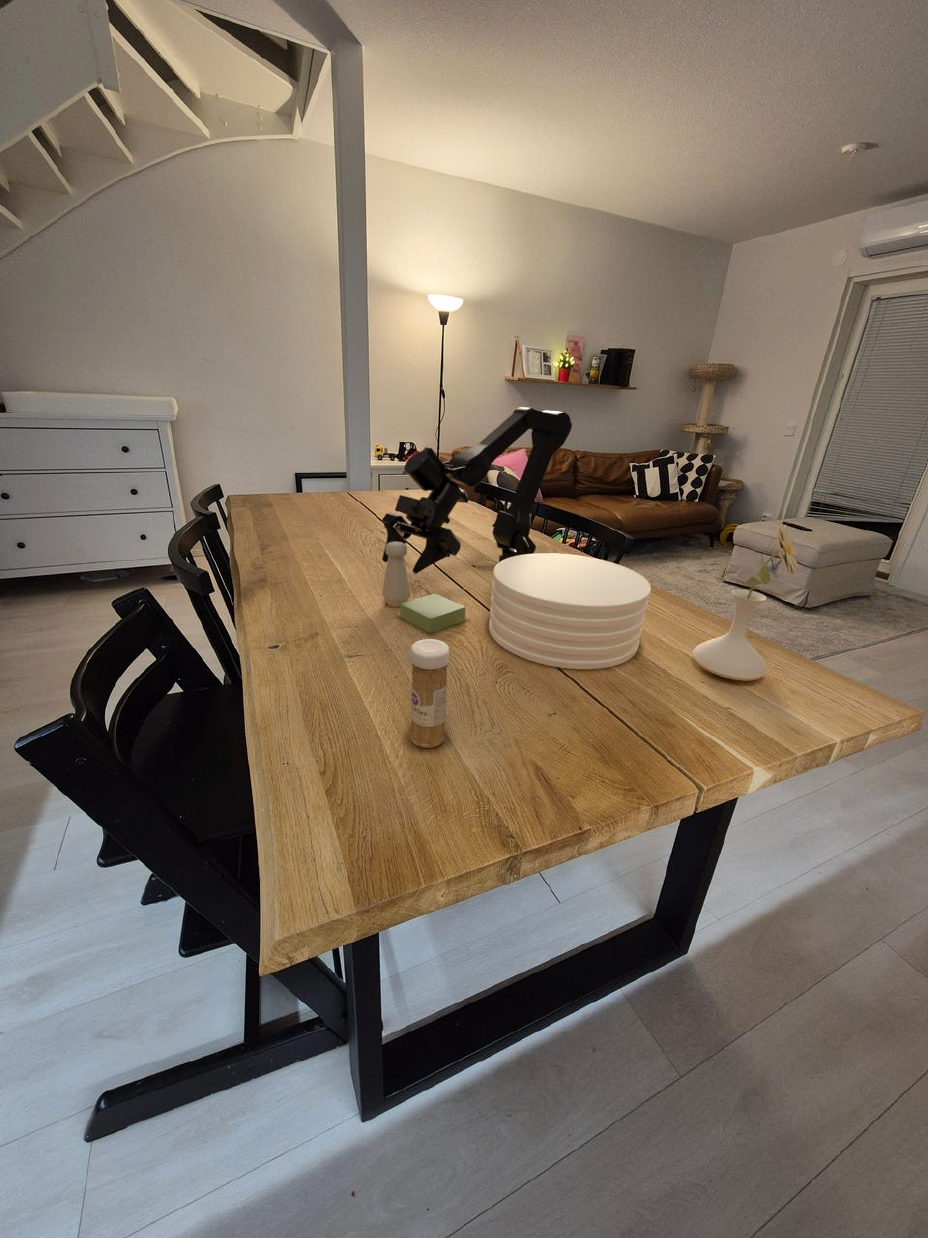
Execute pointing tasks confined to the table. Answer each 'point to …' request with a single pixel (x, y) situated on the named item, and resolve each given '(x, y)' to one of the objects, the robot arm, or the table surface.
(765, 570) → the flower in vase
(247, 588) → the table surface
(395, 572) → the salt shaker
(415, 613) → the green block
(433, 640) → the sprinkles bottle
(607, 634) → the plate stack
